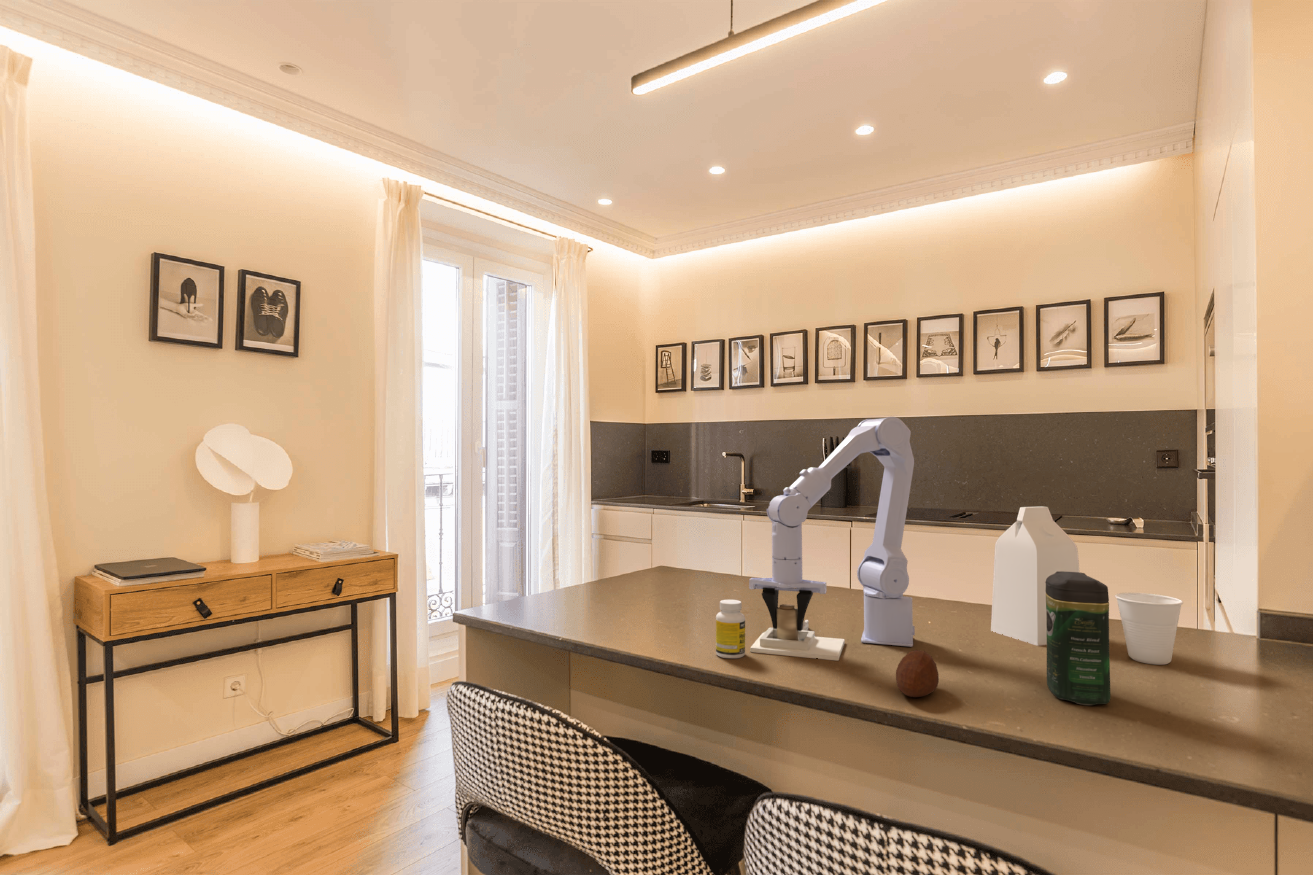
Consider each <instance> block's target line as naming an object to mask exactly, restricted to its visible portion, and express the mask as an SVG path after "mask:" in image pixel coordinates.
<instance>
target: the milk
mask: <svg viewBox="0 0 1313 875" xmlns="http://www.w3.org/2000/svg"><path fill="white" fill-rule="evenodd" d="M993 560H994V561H993V579H992V596H991V598H992V599H991V617H990V619H991V621H990V622H991V623H990V632H992V631H993V633H995V632H996V634H999V635H1002V634H1003V635H1002V636H1005V637H1007V638H1008V637H1009V638H1011V637H1012V639H1015V640H1018V639H1019V640H1018V641H1021V642H1025V643H1027V642H1028V643H1027V644H1031V645H1033V646H1037V647H1039V646H1047V620H1046V591H1045V590H1046V583H1045V582H1046V579H1047V577H1049V576H1050V575H1052V574H1055V573H1056V572H1057V571H1064V572H1080V563H1079V562H1080V561H1079V551H1078V547H1077V544H1076V543H1075V541H1074V540H1073V539H1072V538H1071V536H1069V535H1068V534H1067V532H1066V531H1064V530H1063V528H1061V526H1059V524H1058V523H1057V522H1055V520H1054V519H1053V517H1052V514H1051V511H1050V510H1049V506H1021V507H1019V510H1018V514H1017V518H1016V521H1015V522H1014V523H1013V524H1011V525H1010V527H1008V528H1007V529H1006V530H1005V531H1004V532H1003V533H1002V534H1001V535H1000V536H999V537H998V538H997V539H996V541H995V544H994V557H993Z"/></svg>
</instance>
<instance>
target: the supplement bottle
mask: <svg viewBox="0 0 1313 875" xmlns="http://www.w3.org/2000/svg"><path fill="white" fill-rule="evenodd" d="M719 610H720V611H719V612H717V614H716V616H715V654H716V655H717V657H720V658H723V659H741V658H743V657H745V655H746V616H745V615H744V614H743V613H742V612H741V611H742V601H740V600H738V599H722V600H720V601H719Z"/></svg>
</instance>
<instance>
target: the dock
mask: <svg viewBox="0 0 1313 875" xmlns="http://www.w3.org/2000/svg"><path fill="white" fill-rule="evenodd" d="M815 633H816V631H815V630H809V619H805V620H804V621H803V629H802V631H799V633H798V641H794V640H783V639H777V629H773V627H768V628H767V630H766V631H763V632H762V633H761V634H760V636H759V637H758V638H756V640H755V641H754V642H753V644H752V645H751V646H750V650H749V651H750V653H757V654H768V655H775V656H776V655H777V656H787V657H789V656H790V657H797V658H806V659H807V658H808V659H809V658H810V659H816V658H818V660H827V661H838V662H839V660H840V657H841V654H842V652H843V648H844V647H845V639H844V638H835V637H823V636H816V634H815Z"/></svg>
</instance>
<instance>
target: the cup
mask: <svg viewBox="0 0 1313 875" xmlns="http://www.w3.org/2000/svg"><path fill="white" fill-rule="evenodd" d="M1114 597H1115V599H1116V602H1117V606H1118V611H1119V617H1120V619H1121V625H1122V629H1123V635H1124V640H1125V643H1126V644H1125V645H1126V650H1127V653H1128V656H1129V657H1130V659H1132V660H1133V661H1136V662H1139V663H1142V664H1148V665H1159V666H1163V665H1168V664H1169V663H1171V662H1172V659H1173V658H1172V657H1173V652H1174V647H1175V641H1176V634H1177V631H1178V630H1177V629H1178V624H1179V620H1180V614H1181V608H1182V605H1183V604H1184V601H1183V600H1181V599H1179V598H1176V597H1173V596H1168V595H1162V594H1157V593H1156V594H1154V593H1146V592H1120V593H1116V594H1115V595H1114Z"/></svg>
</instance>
